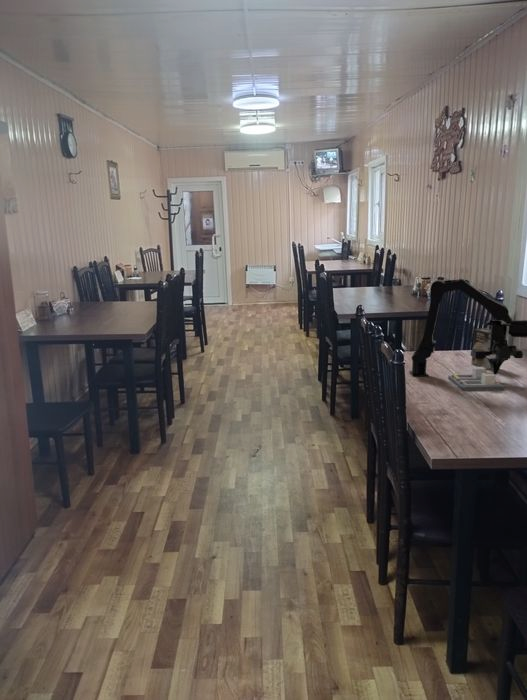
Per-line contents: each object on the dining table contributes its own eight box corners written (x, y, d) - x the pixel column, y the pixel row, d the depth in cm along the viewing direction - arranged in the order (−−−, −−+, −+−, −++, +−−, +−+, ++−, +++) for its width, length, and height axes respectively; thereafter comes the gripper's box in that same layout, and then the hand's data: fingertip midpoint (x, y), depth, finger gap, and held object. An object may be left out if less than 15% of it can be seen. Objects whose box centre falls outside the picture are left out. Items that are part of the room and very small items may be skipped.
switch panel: (448, 378, 229) (448, 374, 229) (487, 378, 229) (487, 373, 229) (462, 390, 214) (462, 385, 213) (504, 389, 214) (504, 384, 213)
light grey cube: (472, 376, 227) (472, 366, 226) (481, 376, 227) (482, 366, 226) (475, 378, 224) (476, 369, 223) (485, 378, 224) (486, 369, 223)
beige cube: (480, 382, 218) (481, 372, 218) (491, 382, 218) (492, 372, 218) (484, 385, 215) (485, 375, 214) (494, 385, 215) (495, 375, 214)
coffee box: (470, 364, 251) (473, 328, 247) (481, 362, 253) (484, 327, 249) (485, 369, 243) (488, 332, 239) (497, 367, 245) (500, 331, 241)
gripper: (482, 340, 214) (479, 380, 217) (531, 340, 214) (527, 379, 218) (471, 335, 225) (468, 372, 228) (518, 334, 225) (514, 372, 228)
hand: (494, 374), depth 225 cm, fingers closed
